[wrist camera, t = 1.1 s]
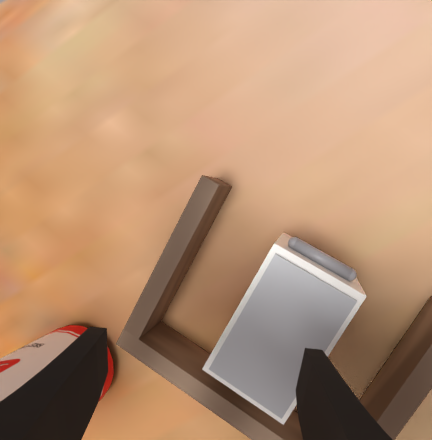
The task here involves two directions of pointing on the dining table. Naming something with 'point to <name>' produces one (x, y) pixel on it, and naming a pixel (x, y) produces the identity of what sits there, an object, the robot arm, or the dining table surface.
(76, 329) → the beer can
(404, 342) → the bay
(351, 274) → the white box with handle
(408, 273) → the dining table surface
